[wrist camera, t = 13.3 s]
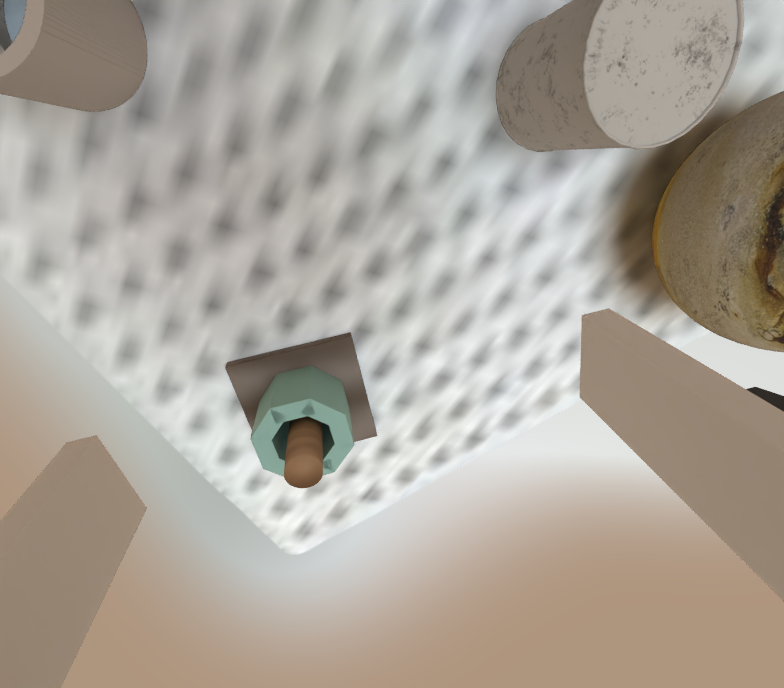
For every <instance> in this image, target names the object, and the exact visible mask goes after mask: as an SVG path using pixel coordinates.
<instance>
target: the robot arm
mask: <svg viewBox="0 0 784 688" xmlns="http://www.w3.org/2000/svg"><path fill="white" fill-rule="evenodd" d="M580 398H581V399H582V400H583V401H584V402H585V403H586V404H587V405H588V406H589V407H590V408H591V409H592V410H593V411H594V412H595V413H596V414H597V415H598V416H599V417H600V418H601V419H602V420H603V421H604V422H605V423H606V424H607V425H608V426H609V427H610V428H611V429H612V430H613V431H614V432H615V433H616V434H617V435H618V436H619V437H620V438H621V439H622V440H623V441H624V442H625V443H626V444H627V445H628V446H629V447H630V448H631V449H632V450H633V451H634V452H635V453H636V454H637V455H638V456H639V457H640V458H641V459H642V460H643V461H644V462H645V463H646V464H647V465H648V466H649V467H650V468H651V469H652V470H653V471H654V472H655V473H656V474H657V475H658V476H659V477H660V478H661V479H662V480H663V481H664V482H665V483H666V484H667V485H668V486H669V487H670V488H671V489H672V490H673V491H674V492H675V493H676V494H677V495H678V496H679V497H680V498H681V499H682V500H683V501H684V502H685V503H686V504H687V505H688V506H689V507H690V508H691V509H692V510H693V511H694V512H695V513H696V514H697V515H698V516H699V517H700V518H701V519H702V520H703V521H704V522H705V523H706V524H707V525H708V526H709V527H710V528H711V529H712V530H713V531H714V532H715V533H716V534H717V535H718V536H719V537H720V538H721V539H722V540H723V541H724V542H725V543H726V544H727V545H728V546H729V547H730V548H731V549H732V550H733V551H734V552H735V553H736V554H737V555H738V556H739V557H740V558H741V559H742V560H743V561H744V562H745V563H746V564H747V565H748V566H749V567H750V568H751V569H752V570H753V571H754V572H755V573H756V574H757V575H758V576H759V577H760V578H761V579H762V580H763V581H764V582H765V583H766V584H767V585H768V586H769V587H770V588H771V589H772V590H773V591H774V592H775V593H776V594H777V595H778V596H779V597H780V598H781V599H782V600H783V601H784V396H782V395H778V394H775V393H772V392H770V391H767V390H764V389H760V388H758V387H753V388H749V389H744V388H743V387H741V386H739V385H737V384H736V383H734V382H732V381H731V380H729V379H727V378H725V377H724V376H722V375H721V374H719V373H717V372H715V371H714V370H712V369H710V368H709V367H707V366H705V365H704V364H702V363H700V362H698V361H697V360H695V359H693V358H692V357H690V356H688V355H687V354H685V353H683V352H682V351H680V350H678V349H676V348H675V347H673V346H671V345H670V344H668V343H666V342H665V341H663V340H661V339H659V338H658V337H656V336H654V335H653V334H651V333H649V332H648V331H646V330H644V329H643V328H641V327H639V326H637V325H636V324H634V323H632V322H631V321H629V320H627V319H626V318H624V317H622V316H621V315H619V314H617V313H615V312H614V311H612V310H610V309H605V310H601V311H597V312H593V313H589V314H585V315H582V332H581V369H580ZM146 508H147V507H146V506H145V505H144V503H143V502H142V500H141V499H140V497H139V496H138V494H137V493H136V492H135V490H134V489H133V487H132V486H131V484H130V483H129V482H128V480H127V478H126V477H125V476H124V474H123V473H122V471H121V470H120V468H119V467H118V465H117V464H116V463H115V461H114V460H113V458H112V457H111V455H110V454H109V452H108V451H107V450H106V448H105V447H104V445H103V444H102V442H101V441H100V440H99V438H98V437H97V436H91V437H88V438H83V439H79V440H75V441H72V442H67V443H66V444H65V445H64V446H63V448H62V449H61V450H60V451H59V452H58V454H57V455H56V456H55V457H54V458H53V459H52V460H51V462H50V463H49V464H48V465H47V466H46V468H45V469H44V470H43V471H42V472H41V473H40V475H39V476H38V477H37V478H36V479H35V481H34V482H33V483H32V484H31V485H30V487H29V488H28V489H27V490H26V491H25V492H24V493H23V495H22V496H21V497H20V498H19V499H18V501H17V502H16V503H15V504H14V505H13V506H12V508H11V509H10V510H9V511H8V512H7V513H6V515H5V516H4V517H3V518H2V519H1V521H0V688H61V686H62V684H63V682H64V680H65V678H66V676H67V674H68V672H69V670H70V667H71V666H72V664H73V661H74V659H75V657H76V655H77V653H78V651H79V649H80V647H81V645H82V643H83V640H84V638H85V636H86V634H87V632H88V630H89V628H90V626H91V624H92V622H93V620H94V618H95V615H96V613H97V611H98V609H99V607H100V605H101V603H102V601H103V599H104V597H105V594H106V592H107V590H108V588H109V586H110V584H111V582H112V580H113V578H114V576H115V574H116V572H117V570H118V567H119V565H120V563H121V561H122V559H123V557H124V555H125V553H126V551H127V549H128V547H129V545H130V542H131V540H132V538H133V536H134V534H135V532H136V530H137V528H138V526H139V524H140V522H141V520H142V517H143V515H144V513H145V511H146Z"/></svg>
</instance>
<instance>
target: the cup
mask: <svg viewBox="0 0 784 688" xmlns="http://www.w3.org/2000/svg"><path fill="white" fill-rule="evenodd" d="M26 1H27V3H26V6H27V7H26V9H25V11H26V13H25V16H24V18H23V19H24V22H23V24H22V27H21V29H20V31H19V34H18V36H17V37H15V40H14V42H13V43H12V42H11V39H10V37H9V34H8V30H7V27H6V26H7V25H6V24H5V23H6V22H5V19H4V18H5V17H4V15H5V14H4V5H3V4H4V0H0V94H4V95H9V96H13V97H18V98H23V99H28V100H33V101H38V102H43V103H48V104H53V105H58V106H63V107H68V108H72V109H77V110H82V111H83V110H84V111H93V112H94V111H105V110H109V109H112V108H115V107H117V106H119V105H121V104H123V103H124V102H126V101H127V100H128V99H130V97H132V96H133V95H134V93H135V92H136V90H138V88H139V86H140V84H141V82H142V80H143V78H144V77H143V76H144V74H145V71H146V67H147V66H146V65H147V64H146V63H147V56H148V55H147V54H148V53H147V47H146V46H147V45H146V44H147V42H146V38H145V37H146V36H145V34H144V28H143V25H142V22H141V21H140V17H139V15H138V13H137V11H136V9H135V7H134V5H133V3H132V2H131V0H26Z"/></svg>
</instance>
